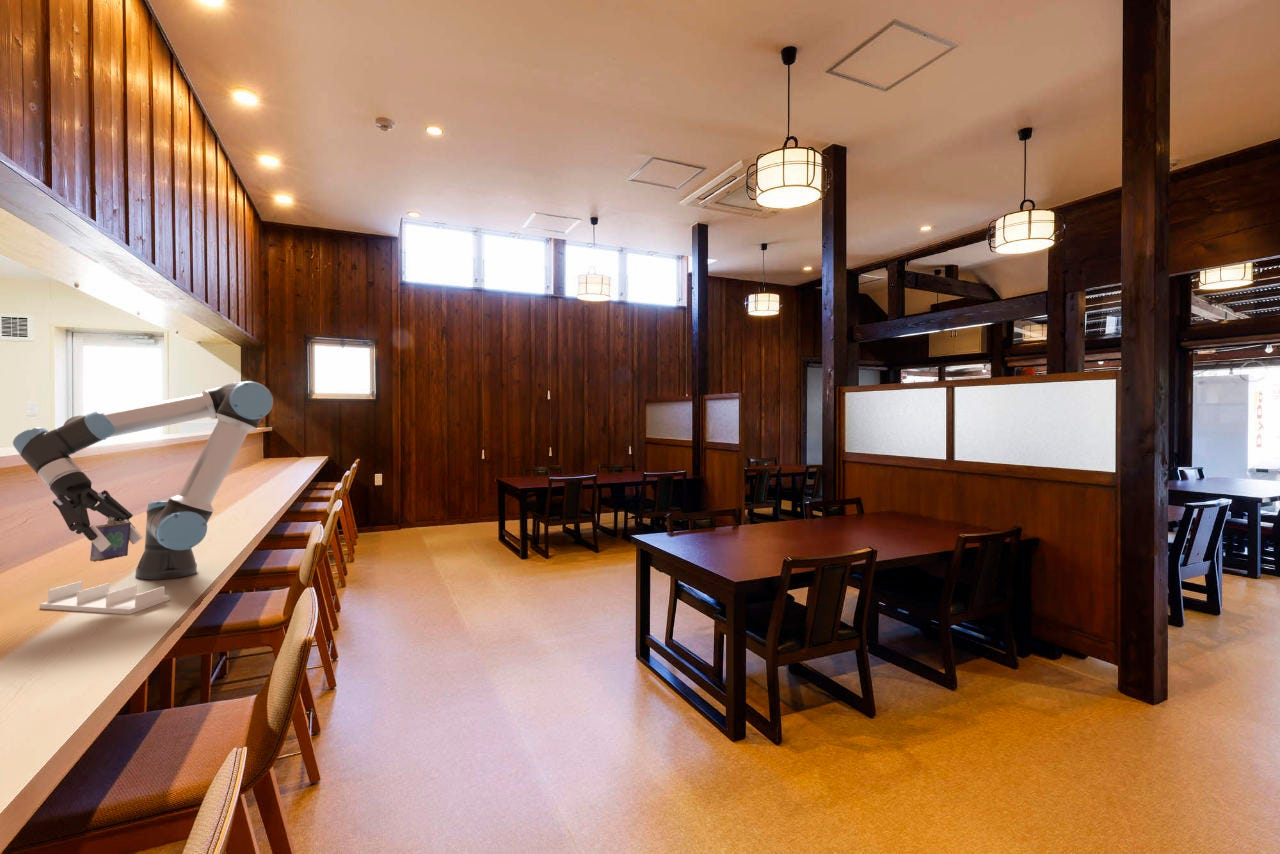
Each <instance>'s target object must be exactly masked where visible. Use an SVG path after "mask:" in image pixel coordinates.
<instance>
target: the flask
mask: <svg viewBox="0 0 1280 854" xmlns="http://www.w3.org/2000/svg"><path fill="white" fill-rule="evenodd" d="M105 519H106V520H107V521H106V524H100V525H95V526H96V527H97V528H98V530H99V531H100V532H101V533H102V534H103V535H104V537H105V538H106V539H107V540H108V541H109V542H110V543H111V545H110V546H109V547H107V548H106V549H105V550H104V551H102V552H100V551H99V549H98V548H97V547H96V546H95V545H94V544H93V543H92V542H91V545H90V546H91V547H90V549H91V550H90V556H89V557H90V558H89V559H90V560H89V561H90V562H94V563H96V562H103V561H108V560H113V559H116V558H117V559H118V558H122V557H127V556H128V554H129V553H128V552H129V545H130V544H129V542H130V541H129V533H130V524H132V522H131V521H130V522H131V523H130V522H125V521H114V519H115V518H114V517H106V518H105ZM117 522H118V523H117Z"/></svg>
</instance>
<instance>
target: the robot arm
mask: <svg viewBox="0 0 1280 854" xmlns="http://www.w3.org/2000/svg"><path fill="white" fill-rule="evenodd" d="M273 405H274V398H273V395H272V392H271V391H270V389H269V388H267V386H265V385H264V384H262V383H259V382H256V381H253V380H243V381H233V382H230V383H227V384H225V385H221V386H217V387H215V388H214V387H213V388H210V389H204V390H203V391H202V393H199V394H194V395H189V396H184V397H179V398H177V397H176V398H171V399H167V400H166V399H165V400H162V401H157V402H150V403H145V404H140V405H135V406H128V407H123V408H118V409H113V410H107V411H100V410H97V411H94V412H91V413H87V414H85V415H76V416H72V417H71V418H68V419H66V421H65V422H64V423H63V425H62V426H59V427H58V428H54V429H52V430H50V431H49V430H48V429H46V428H44V427H34V428H32V429H30V428H29V429H27V430H23V431H22V432H20V433H19V434H18V435H16V436H15V437H14V439H13V441H12V445H13V447H14V449H16V451H17V453H18V454H19V455H20V456H21V458H22V459H23V461H25V462H26V463H27V464H28V465H29V466H30V468H31V469H32V470H33V471H34V473H36V474H37V475H38V476H39V477H40V479H41V480H42V481H43V483H44V484H46V486H47V487H48V488H49V489H50V491H51V492H52V493H53V495H55V497H56V498H55V499H53V501H52V504H53V505H54V506H55V507H56V508H57V509H58V510H59V511H58V512H59V513H60V515H61V516H62V518H63V520H64V522H65V523H66V526H67V528H68V530H69V531H70V532H75V533H76V534H77V535H81V534H83V535H84V536H85V538H87V540H89V541H90V542H91V544H92V543H93V544H94V545H95V546H96V547H97V548H98V549H99V551H100V552H102V551H104V550H105V549H106V548H107V547H109V546H110V545H111V543H110V542H109V541H108V540H107V539H106V538H105V537H104V535H103V534H102V533H101V532H100V531H99V530H98V528H97V527H96V526H97V525H95V524H92V525H91V522H90V518H89V513H88V509H89V510H91V511H92V512H93V511H94V512H95V511H96V512H98V513H100V514H101V515H103V516H105V517H106V518H108V517H114V518H115V519H114V521H125V522H130V523H131V524H130V533H129V542H130V543H131V544H132V545H136V544H137V543H138V542H139V541H141V540H142V539H143V538H144V537H143V536H142V535H141V533H140V532H138V530H137V529H136V527H135V525H133V524H132V522H131V521H130V520H131V518H132V517H133V516H134V515H133V513H131V512H130V511H129V510H127V509H126V508H125V507H124V506H123V505H122V504H121V503H119V501H117V500H116V499H115V498H114V497H112V496H111V494H110V493H109V491H108V490H105V489H104V490H103V491H102V492H97V491H96V490H94V489H93V488H92V480H91V479H90V478H89V477H88V476H87V475H86V474H85V473H84V471H83V470H82V469H81V467H79V465H78V464H77V463H76V462H75V461H74V460H73V459H72V458H71V457H70V456H72V455H74V454H75V453H77V452H79V451H82V450H84V449H87V448H88V447H92V446H93V445H95V444H96V443H99V442H102V441H105V440H107V439H108V438H112V437H117V436H121V435H126V434H130V433H131V434H132V433H137V432H140V431H147V430H151V429H156V428H162V427H166V426H171V425H176V424H182V423H186V422H190V421H195V420H202V419H206V418H209V419H211V420H216V419H217V423H216V425H215V426H214V428H213V430H212V432H211V434H210V436H209V438H208V440H207V442H206V443H205V445H204V447H203V449H202V451H201V452H200V454H199V455H198V458H197V460H196V462H195V463H194V465H193V467H192V469H191V471H190V473H189V475H188V477H187V478H186V480H185V482H184V483H183V485H182V487H181V490H180V491H179V493H178V494H176V495H174V496H170V497H169V498H168V500H162V501H161V500H157V501H154V500H153V501H150V502H149V503H148V505H147V508H146V524H145V538H144V541H145V542H144V551H143V553H142V555H141V557H140V560H139V562H138V564H137V566H136V568H135V577H136V578H137V579H141V580H170V579H176V578H184V577H188V576H191V575H194V574H195V573H197V571H198V569H197V568H198V564H197V562H196V557H195V556H194V552H193V549H192V548H194V547H196V546H198V545H199V544H200V543H201V542H202V541H203V540H204V539H205V537H206V535H207V532H208V522H209V521H210V519H211V516H212V514H213V513H214V509H213V506H212V502H213V500H214V498H215V496H216V495H217V493H218V492H219V490H220V487H221V485H222V484H223V481H224V480H225V477H226V475H227V474H228V472H229V470H230V468H231V466H232V464H233V463H234V461H235V459H236V457H237V455H238V453H239V451H240V449H241V448H242V445H243V443H244V442H245V440H246V438H247V435H248V434H249V433H250V432H252V431H255V430H257V429H258V427H259V425H260V423H261V421H262V419H263V418H264V417H266V416H267V415H268V414H270V412H271V410H272V409H273ZM117 523H118V522H117Z"/></svg>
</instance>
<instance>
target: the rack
mask: <svg viewBox="0 0 1280 854" xmlns="http://www.w3.org/2000/svg"><path fill="white" fill-rule="evenodd" d="M110 586H111V583H110V582H106V583H104V584H100V585H97V586H92V587H89V588H85V589H83V580H80V581H76V582H72V583H69V584H66V585H65V584H64V585H61V586H58V587H53V588H50V589H48V591H47V601H45V602H42V603H39V609H40V610H42V609H43V610H54V611H56V610H57V611H68V612H69V611H73V612H83V613H84V612H86V613H87V612H89V613H99V614H100V613H103V614H117V615H119V614H120V615H132V614H134V613H137V612H140V611H142V610H145V609H148V608H151V607H154V606H157V605H159V604H161V603H164V602H165V603H166V602H167V601H170V596H171V595H168V594H167V595H166V594H165V587H166V586H164V585H163V586H160V587H157V588H154V589H151V590H148V591H145V592H142V593H138V584H133V585H130V586H129V585H128V586H126V587H124V588H120V589H116V590H113V591H110V589H111V588H110Z"/></svg>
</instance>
